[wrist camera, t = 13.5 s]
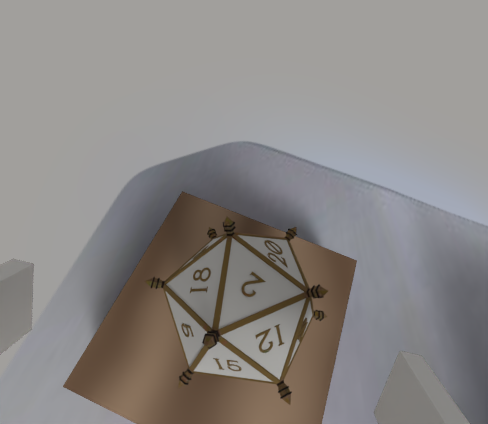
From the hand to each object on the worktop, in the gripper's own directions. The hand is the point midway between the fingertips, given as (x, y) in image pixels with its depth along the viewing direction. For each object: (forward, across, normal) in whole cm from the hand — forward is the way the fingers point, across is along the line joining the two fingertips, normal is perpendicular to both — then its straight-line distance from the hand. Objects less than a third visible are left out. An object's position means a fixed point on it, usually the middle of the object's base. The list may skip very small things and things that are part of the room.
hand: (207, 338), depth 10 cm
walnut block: (+12, +1, -8) cm, 14 cm away
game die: (+8, +1, -4) cm, 9 cm away
